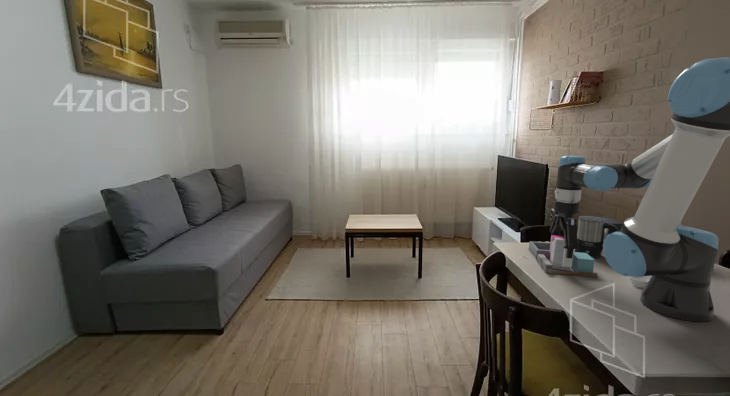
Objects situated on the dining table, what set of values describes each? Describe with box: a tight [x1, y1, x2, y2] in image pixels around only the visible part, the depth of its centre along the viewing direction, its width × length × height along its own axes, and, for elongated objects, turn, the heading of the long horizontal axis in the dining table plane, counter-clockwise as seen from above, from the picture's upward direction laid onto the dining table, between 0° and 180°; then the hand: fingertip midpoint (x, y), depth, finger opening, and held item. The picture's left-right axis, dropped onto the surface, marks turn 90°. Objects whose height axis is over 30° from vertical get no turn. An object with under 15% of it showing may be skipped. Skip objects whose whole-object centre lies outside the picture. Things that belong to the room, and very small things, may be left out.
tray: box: [528, 240, 551, 260], centre depth 136 cm, size 11×11×4 cm
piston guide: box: [536, 254, 598, 278], centre depth 123 cm, size 11×16×3 cm
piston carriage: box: [571, 252, 596, 273], centre depth 121 cm, size 7×5×5 cm
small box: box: [601, 216, 624, 242], centre depth 151 cm, size 11×6×10 cm, turn 178°
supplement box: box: [550, 235, 571, 271], centre depth 122 cm, size 6×6×12 cm
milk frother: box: [574, 215, 619, 258], centre depth 139 cm, size 14×16×15 cm
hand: (559, 259), depth 123 cm, fingers open, 13 cm apart
